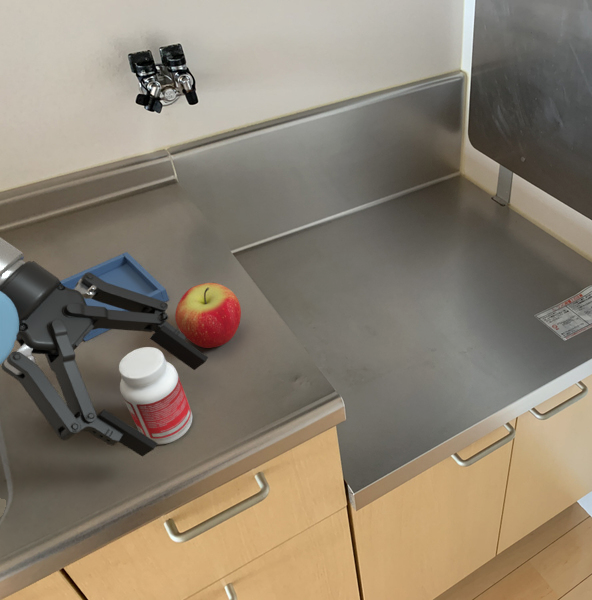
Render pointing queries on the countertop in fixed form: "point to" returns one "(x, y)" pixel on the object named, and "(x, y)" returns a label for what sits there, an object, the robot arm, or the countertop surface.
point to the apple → (208, 315)
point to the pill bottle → (154, 395)
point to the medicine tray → (120, 282)
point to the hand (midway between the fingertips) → (177, 404)
